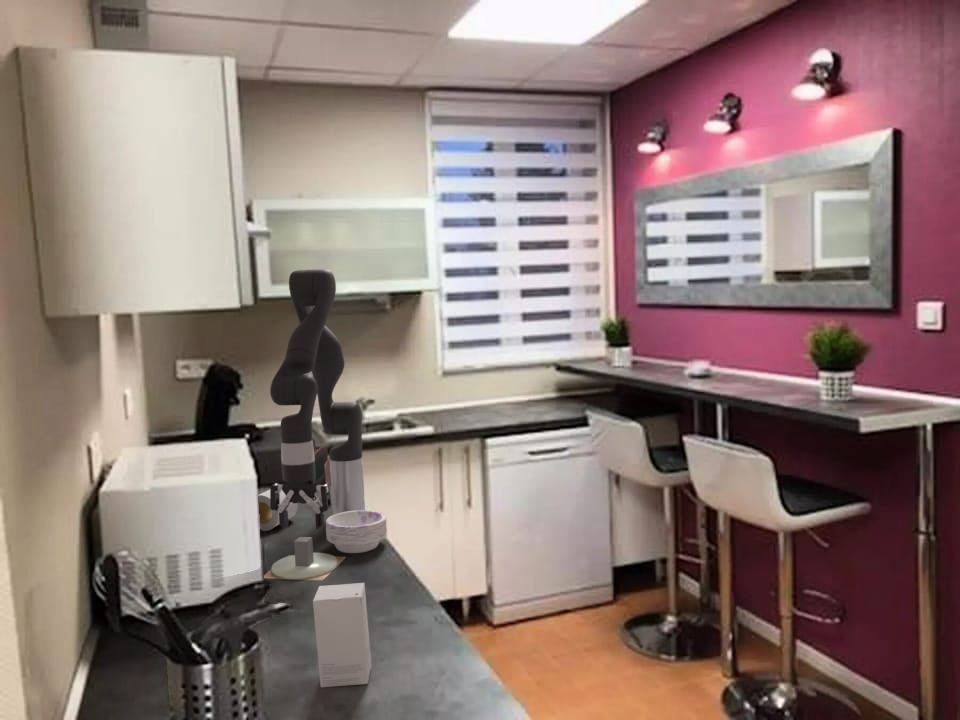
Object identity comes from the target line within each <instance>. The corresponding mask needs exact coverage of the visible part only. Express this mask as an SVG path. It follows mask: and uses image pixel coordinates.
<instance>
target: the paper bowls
mask: <svg viewBox="0 0 960 720" xmlns="http://www.w3.org/2000/svg"><path fill="white" fill-rule="evenodd" d="M387 532H388V528H387V516H386V514H384V513H382V512H379V511H373V510H368V509H367V510H366V509H365V510H358V511H347V512H342V513H338V514H335V515H333V514H332V515H331V516H328V517H327V519H326V520H325V533H326V535H325V536H326V541H328V542H329V543H331V544H334V546H335V548H336V550H337V551H339V552H340V553H346V554H361V553H366V552H370V551H372V550H374V549H376V548H377V547H378V546H379V544H380V542H381V541H382V540H384V539H385V538H386V537H387V536H388V534H387Z"/></svg>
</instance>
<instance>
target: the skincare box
mask: <svg viewBox="0 0 960 720" xmlns="http://www.w3.org/2000/svg"><path fill="white" fill-rule="evenodd" d="M365 585H366V584H365V582H357V583H345V584H344V583H342V584H331V585H329V584H328V585H319V586H318V588H317V591H316V593H315V596H314V597H313V600H312V607H313V618H314V627H315V628H314V629H315V630H314V631H315V639H316V640H315V641H316V651H317V660H318V661H317V662H318V663H317V664H318V672H319V674H318V675H319V684H320V688H331V687H344V686H345V687H346V686H347V687H348V686H360V685H368V683H369V679H370V677H371V676H370V675H371V674H370V673H371V670H372V656H371V644H370V633H369V619H368V609H367V598H366V597H367V596H366V587H365Z"/></svg>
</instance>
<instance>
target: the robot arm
mask: <svg viewBox="0 0 960 720" xmlns="http://www.w3.org/2000/svg"><path fill="white" fill-rule="evenodd" d="M334 275H335V274H333V272H332V271H331V270H330V269H324V268H322V269H321V268H318V269H316V268H315V269H314V268H313V269H300V270H299V269H298V270H294V271H292V272H291V273H290V275H289V277H288V289H289V293H290V298H291V301H292V305H293V308H294V310H295V313H296V317H297V320H298V322H299V324H298V325H297V326H296V327H295V329H294V330H293V332H291V333H292V334H291V335H290V337H289V340H288V344H287V348H286V352H285V358H284V360H283V361H282V363H281V365H280V367H279V368H278V370H277V372H276V373H275V375H274V377H273V378H272V381H271V384H270V389H269V395H270V398H271V400H272V402H273V403H275V405H278V406H300V409H299V411H298V413H294V414H290V415H286V416H284V417H282V419H281V420H280V434H281V435H280V436H281V438H280V439H281V448H280V452H281V453H280V460H281V469H282V470H281V473H282V474H281V475H282V481H283V483H282V484H280V483H279V482H276V483H275V482H274V484H272V485H270V487H269V490H270V508H271V510H276V511H278V512H279V523H280V524H279V526H280V527H281V529H286V528H288V527H289V520H288V511H286V509H287V507H288V506H289V505H290V503H291V502H292V503H298V504H302V505H303V504H305V505H306V504H308V506H309V507H310V508H312V509H313V512H314V513H315V514H314V518H315V519H314V520H315V529H316V530H320V529H322V528H323V526H324V525H325V512H327V511H328V510H330V509H331V508H332V515H335V514H338V513H342V512H347V511H358V510H366V503H365V502H366V501H365V484H364V481H365V480H364V465H363V462H364V461H363V436H362V435H363V433H362V429H363V419H362V418H363V417H362V415H363V414H362V409H361V406H360V404H359V403H358V402H356V401H348V402H347V401H342V402H341V401H339V402H336V401H334V399H333V392H334V389H335V387H336V385H337V383H338V381H339V380H340V378H341V376H342V374H343V372H344V369H345V359H344V358H345V357H344V354H343V353H344V352H343V350H342V343H341V342H340V341H339V339H338V337H337V336H336V335H335V334H334V333H333V332H332V331H331V330H330V329H329V328H328V326H326V323H327V320H328V319H329V316H330V313H331V310H332V308H333V305H334V302H335V297H336V294H337V293H336V292H337V291H336V290H337V283H336V279H335V276H334ZM310 372H311V373H312V374H311V375H310V374H309V373H310ZM316 400H317V401H318V408H319V414H320V415H319V416H320V420H321V426H322V428H323V431H324V432H325V434H327V435H333V436H334V435H335V436H336V435H337V436H343V435H344V436H347V435H348V436H347V439H346V441H345V442H343V443H340V444H338V445H336V446H333V447H332V448H330V450H329V453H328V455H329V456H328V458H329V457H330V474H331V484H330V485H329V484H327V483H326V484H324V485H317V484H316V481H315V479H316V475H315V457H314V446H313V440H312V438H313V427H312V426H313V425H312V424H313V422H312V421H313V413H314V409H315V403H316ZM330 487H331V488H330ZM330 489H331V490H330ZM281 490H282V491H283V492H284V493H285V495H286V497H285V498H284V500H283V501H282V504H280V492H281ZM317 491H318V494H319V495H320V496H321V497H320V498H319V497H318V495H316V492H317ZM320 499H321V501H320Z"/></svg>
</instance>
